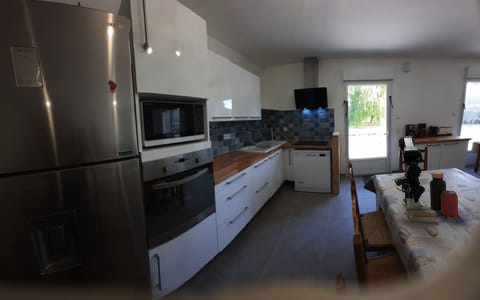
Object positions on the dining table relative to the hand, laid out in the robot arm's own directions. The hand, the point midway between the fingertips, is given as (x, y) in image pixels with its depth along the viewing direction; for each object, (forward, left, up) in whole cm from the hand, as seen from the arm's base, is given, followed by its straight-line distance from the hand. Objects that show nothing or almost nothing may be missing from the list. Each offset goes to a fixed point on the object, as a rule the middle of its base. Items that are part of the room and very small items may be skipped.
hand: (413, 200), depth 131 cm
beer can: (+5, +14, -6) cm, 16 cm away
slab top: (+12, 0, -3) cm, 12 cm away
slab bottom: (+12, 0, -6) cm, 13 cm away
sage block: (0, 0, -6) cm, 6 cm away
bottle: (-3, +12, -6) cm, 14 cm away
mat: (+12, 0, -6) cm, 14 cm away
